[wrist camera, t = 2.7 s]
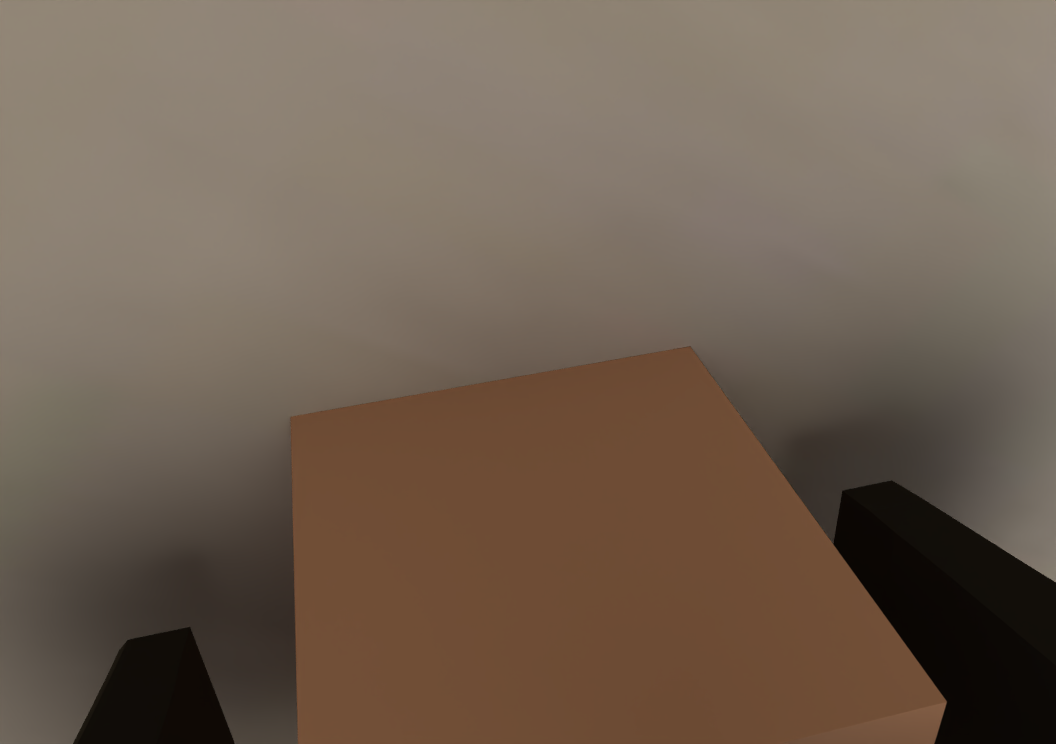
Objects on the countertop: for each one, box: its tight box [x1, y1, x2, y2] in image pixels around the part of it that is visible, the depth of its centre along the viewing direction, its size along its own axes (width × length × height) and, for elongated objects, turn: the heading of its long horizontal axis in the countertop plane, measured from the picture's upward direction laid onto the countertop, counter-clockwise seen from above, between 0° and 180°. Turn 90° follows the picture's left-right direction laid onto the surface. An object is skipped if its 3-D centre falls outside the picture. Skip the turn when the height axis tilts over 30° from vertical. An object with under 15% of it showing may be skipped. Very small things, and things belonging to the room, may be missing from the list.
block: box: [291, 347, 947, 744], centre depth 9 cm, size 4×4×5 cm
